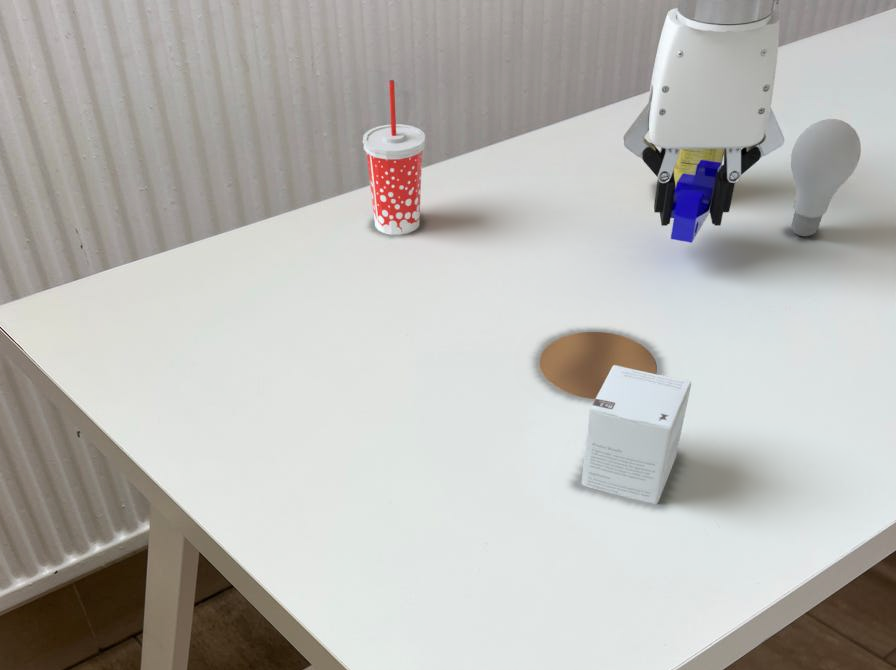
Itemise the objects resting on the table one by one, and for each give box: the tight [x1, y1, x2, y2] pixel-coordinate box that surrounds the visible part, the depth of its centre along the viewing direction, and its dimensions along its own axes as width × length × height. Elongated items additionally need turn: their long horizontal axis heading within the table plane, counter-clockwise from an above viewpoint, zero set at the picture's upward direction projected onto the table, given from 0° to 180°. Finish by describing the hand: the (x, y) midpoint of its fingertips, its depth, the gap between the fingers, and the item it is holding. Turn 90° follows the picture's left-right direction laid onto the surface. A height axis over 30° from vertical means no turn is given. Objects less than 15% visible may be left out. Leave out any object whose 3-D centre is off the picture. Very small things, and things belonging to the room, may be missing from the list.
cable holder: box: [670, 160, 723, 243], centre depth 91 cm, size 8×4×4 cm, turn 154°
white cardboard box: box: [581, 365, 692, 505], centre depth 72 cm, size 6×6×7 cm
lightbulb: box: [790, 118, 862, 237], centre depth 93 cm, size 6×6×11 cm
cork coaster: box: [538, 331, 657, 400], centre depth 84 cm, size 10×10×1 cm
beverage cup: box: [362, 79, 426, 236], centre depth 96 cm, size 6×6×14 cm
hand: (689, 217), depth 92 cm, fingers closed on cable holder, 4 cm apart
